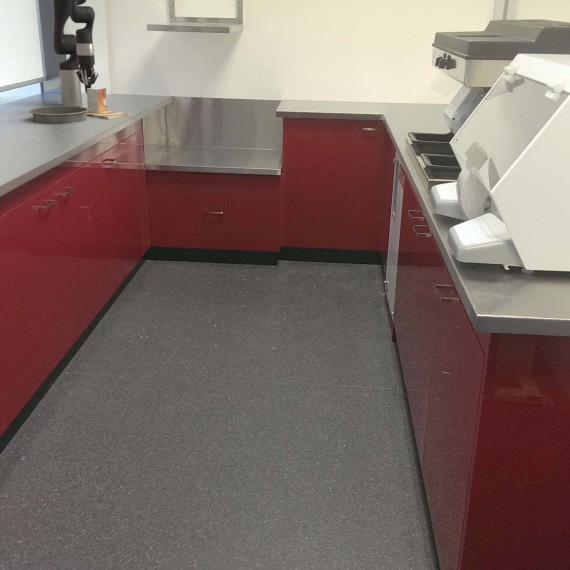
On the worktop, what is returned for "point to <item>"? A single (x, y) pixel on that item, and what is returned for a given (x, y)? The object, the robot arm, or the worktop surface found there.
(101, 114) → the maple board
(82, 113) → the cake pan
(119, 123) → the worktop surface
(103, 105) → the small box
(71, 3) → the robot arm
